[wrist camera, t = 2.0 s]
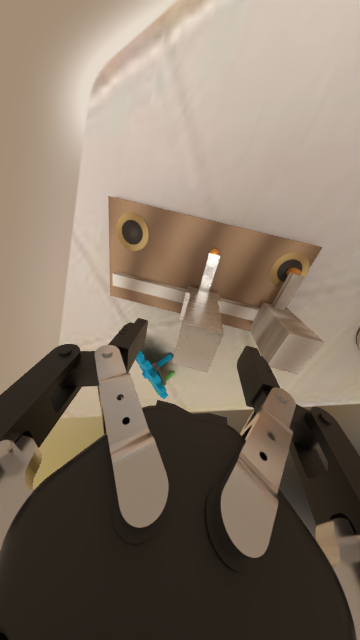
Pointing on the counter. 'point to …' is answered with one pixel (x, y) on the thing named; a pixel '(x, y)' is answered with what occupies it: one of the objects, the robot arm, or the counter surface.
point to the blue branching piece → (152, 376)
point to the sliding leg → (200, 322)
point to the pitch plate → (229, 280)
